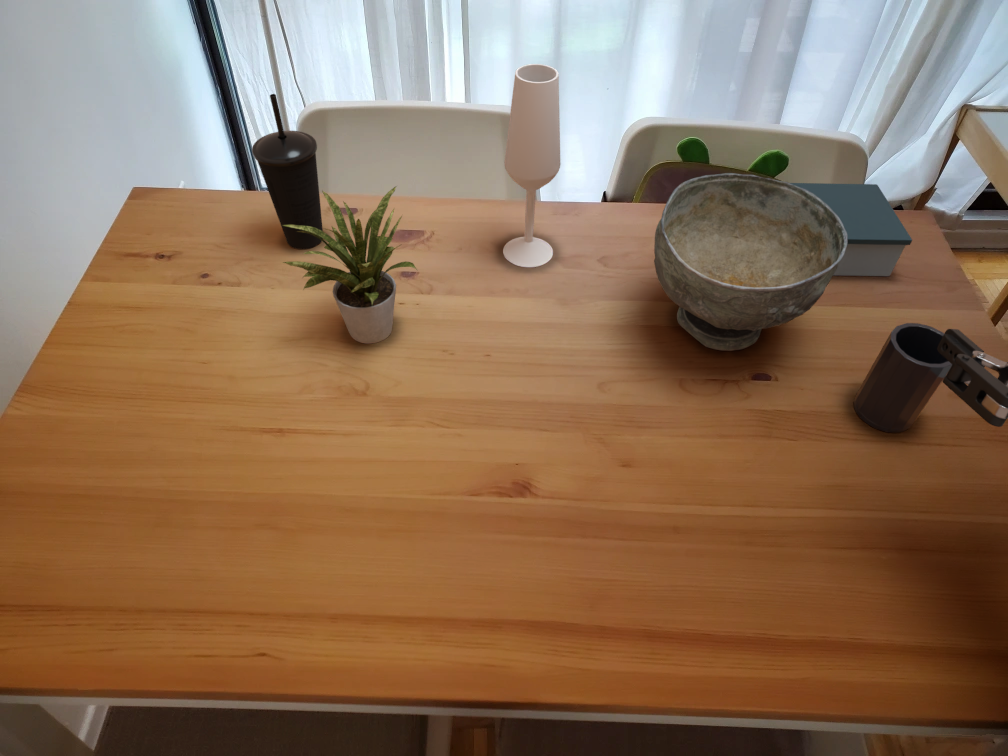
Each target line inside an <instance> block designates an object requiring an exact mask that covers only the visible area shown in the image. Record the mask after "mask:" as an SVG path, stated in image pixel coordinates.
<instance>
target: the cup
mask: <svg viewBox="0 0 1008 756" xmlns="http://www.w3.org/2000/svg"><path fill="white" fill-rule="evenodd" d="M944 333H945V332H943V331H941V330H939V329H937V328H935V327H933V326H930V325H927V324H923V323H919V322H907V323H903V324H899V325H897V326H895V327H894V328H893V329H892V330H891V332H890V333H889V335H888V337H887V338H886V340H885V342H884V344H883V346H882V348H881V349H880V351H879V352H878V354H877V356H876V358H875V360H874V362H873V364H872V366H871V367H870V369H869V371H868V372H867V374H866V376H865V377H864V379H863V381H862V383H861V384H860V387H859V388H858V390H857V392H856V393H855V397H854V398H853V408H854V411H855V413H856V414H857V416H858V417H859V418H860V419H861V420H862V422H864V423H865V424H867V425H868V426H870V427H872V428H874V429H876V430H878V431H881V432H885V433H893V434H898V433H903V432H905V431H907V430H909V429H911V428H912V426H913V425H914V423H915V422H916V421H917V420H918V418H919V416H920V415H921V414H922V413H923V411H924V409H925V408H926V406H927V405H928V404H929V402H930V400H931V399H932V398H933V396H934V395H935V393H936V392H937V391H938V389H939V388H940V386H941V384H942V383H943V379H944V377H945V376H946V375H947V373H948V371H949V370H950V368H951V366H952V364H951V363H950V362H949V361H948V360H947V359H946V358H945V357H944V356H943V355H941V354H940V353H939V352H938V350H937V348H938V345H939V343H940V341H941V339H942V337H943V335H944Z"/></svg>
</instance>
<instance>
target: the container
mask: <svg viewBox="0 0 1008 756" xmlns="http://www.w3.org/2000/svg"><path fill="white" fill-rule="evenodd" d="M789 183H790V184H792V185H795V186H797V187H800V188H803V189H806V190H807V191H809V192H811V193H813V194H814V195H816V196H817V197H818V198H820V199H821V200H822V201H823V202H825V203H826V204H827V205H828V206H829V207H830V208H831V209H832V210H833V211H834V213H835V214H836V215H837V216H838V217H839V218H840V220H841V222H842V224H843V226H844V228H845V230H846V232H847V247H846V251H845V253H844V255H843V257H842V259H841V260H840V262H839V264H838V267H837V269H836V271H835V273H834V274H833V276H841V277H843V276H845V277H848V276H850V277H851V276H852V277H890V276H891V275H892V272H893V271H894V269H895V267H896V265H897V263H898V261H899V259H900V257H901V256H902V253H903V252H904V249H905V248H906V246H910V245H911V244H912V242H913V239H912V237H911V235H910V233H908V231H907V229H906V227H905V226H904V224H903V222H902V221H901V220H900V218H899V217H898V215H897V213H896V212H895V210H894V209H893V207H892V205H891V204H890V202H889V201H888V199H887V198H886V195H884V193H883V191H882V190H881V188H880V186H879V185H878V184H877V183H876V184H875V183H873V184H872V183H823V182H822V183H821V182H819V183H818V182H817V183H816V182H789Z"/></svg>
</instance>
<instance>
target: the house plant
mask: <svg viewBox="0 0 1008 756" xmlns="http://www.w3.org/2000/svg"><path fill="white" fill-rule="evenodd" d="M396 188H397V186H394V187H393V188H391V189H390V190H389V191H387V193H386V194H384V196H382V198H381V200H380V202H379V203H378V205H377V207H376V208H375V210H374V211H373V212H372V213H371V214H370V216H369V218H368V220H367V222H366V224H365V229H364V233H363V226H362V221H361V220H360V218H357V220H355V216H354V213H353V212H352V209H351V208H350V207H349V205H348V204H347V202H345V201H344V200H342V202H343V205H344V207H345V211H346V213H347V214H346V215H347V216H348V220H349V224H350V228H351V233H352V235H353V238H354V240H353V238H352V236H351V233H350V231H349V229H348V226H347V223H346V221H345V217H344V214H343V213H342V210H341V208H340V206H339V205H338V203H336V201H335V200H333V198H332V197H331V196H330V195H329V194H328V193H327V192H325V190H321V192H322V193H323V196H324V198H325V199H326V201H327V203H328V205H329V207H330V209H331V212H332V214H333V217H334V219H335V223H336V226H337V228H338V230H337V229H336V228H335V227H334V226H333V225H331V228H332V229H328V228H324V227H322V228H323V229H324V230H327V231H329V232H332V233H333V235H334V238H333V237H332V236H330V234H327V233H326V232H324V230H323V231H321V230H319V229H317V228H315V227H310V226H301V225H282V226H287V227H291V228H297V229H301V230H305V231H296V232H304V233H309V234H311V235H313V236H316V237H317V238H319V239H320V240H321V241H322V242H323V244H325V246H323V248H324V249H325V250H328V251H330V252H333V253H334V254H335V255H336V256H337V257H338V258H335V257H334V256H332V255H330V254H329V253H326V252H323V251H320V250H307V251H305V252H304V253H303V255H319V256H325V257H328V258H330V259H333V260H335V261H337V262H339V263H341V262H342V265H343V266H344V267H345V268H346V269H348V270H349V271H345V270H342V269H341V268H336V267H333V266H328V265H322V264H317V263H313V262H308V261H301V260H295V261H283V262H282V263H283V264H286V265H289V266H290V267H297V268H301V269H303V270H305V271H307V272H306V273H305V274H304V275H303V276H302V278H306V277H307V278H309V279H308V280H307V282H306V283H305V285H304V287H303V289H302V291H305V289H309V288H313V287H314V286H317V285H319V284H322V283H326V282H329V281H332V282H333V281H334V282H335V283H334V285H333V287H332V295H333V298H334V301H335V303H336V306H337V308H338V310H339V312H340V315H341V317H342V319H343V322H344V324H345V326H346V329H347V331H348V333H349V335H350V337H351V338H352V339H353V340H355V341H356V342H358V343H362V344H366V345H367V344H377V343H379V342H383V341H385V340H386V339H387V338H389V336H390V335H391V334H392V331H393V325H394V324H393V323H394V313H395V305H396V304H395V302H396V293H397V283H396V280H395V279H394V278H393V276H392V275H391V274H390V273H388V272H390V271H391V270H395V269H399V268H413V269H415V270H416V271H418V268H417V267H416V266H415V264H414V262H411V261H406V260H405V261H400V262H398V263H395V264H393V265H391V266H389V267H388V268H387V269H386V270H383V269H384V267H385V265H386V263H387V262H388V260H389V259H390V257H391V256H392V254H393V252H394V251H395V249H397V248H399V247H400V246H402V245H403V244H400V245H397V246H389V245H390V244H391V242H392V240H394V239H393V237H394V234H395V233H396V230H397V228H398V226H399V224H400V222H401V219H402V217H403V214H402V215H401V216H400V217H399V219H398V220H397V221H396V223H395V224H394V226H393V227H392V229H391V231H390V233H389V234H388V236H386V234H387V232H388V230H389V228H390V225H391V222H392V218H393V216H394V211H395V207H393V210H392V211H391V212H390V214H389V216H388V217H387V219H386V221H385V224H384V226H383V229H382V231H381V233H380V235H379V232H380V228H381V225H382V222H383V217H384V215H385V213H386V211H387V209H388V206H389V203H390V200H391V198H392V195H393V194H394V193H395V191H396ZM307 231H308V232H307ZM319 236H320V237H319ZM321 237H322V238H323V239H322V238H321ZM338 259H340V260H341V261H340V260H338ZM418 272H419V271H418Z"/></svg>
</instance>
